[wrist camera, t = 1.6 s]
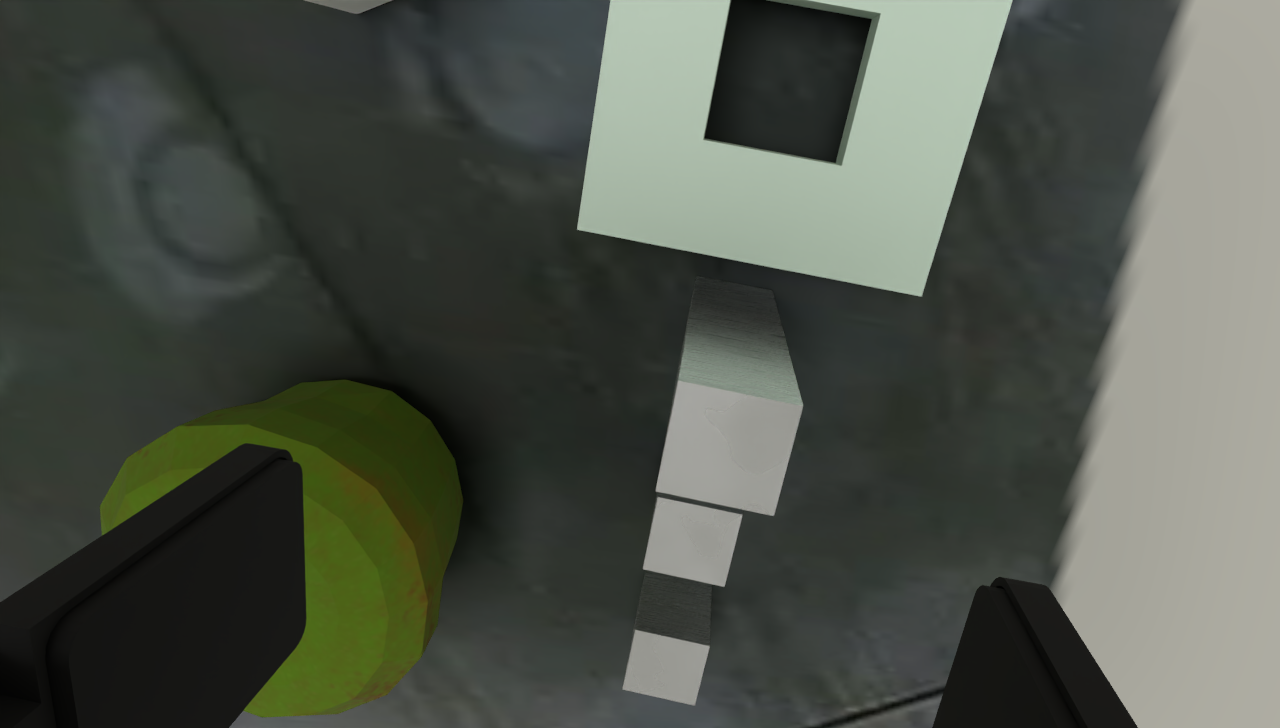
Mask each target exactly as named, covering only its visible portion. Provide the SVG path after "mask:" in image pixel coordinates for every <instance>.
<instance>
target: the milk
mask: <svg viewBox="0 0 1280 728" xmlns="http://www.w3.org/2000/svg"><path fill="white" fill-rule="evenodd" d="M305 1H309V2H312V3H316V4H320V5H324V6H328V7H331V8H335V9H339V10H343V11H346V12H350V13H354V14H359V13H362V12H365V11H367V10H370V9H372V8H375V7H377V6H380V5H382V4H385V3H387V2H390V1H392V0H305Z"/></svg>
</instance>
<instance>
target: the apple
mask: <svg viewBox="0 0 1280 728" xmlns="http://www.w3.org/2000/svg"><path fill="white" fill-rule="evenodd" d="M245 443H250V444H256V445H262V446H268V447H273V448H279V449H284V450H287V451H288V452H290V454H291V456H292V458H293V462H297V463H299V464H300V466H301V468H302V473H303V507H304V545H305V582H306V626H305V631H304V634H303V636H302V639H301V641H300V642H299V644H298V646H297V647H296V648H295V650H294V651H293V652H292V653H291V654H290V656H289V657H288V658H287V659H286V660H285V661H284V663H283V664H282V665H281V666H280V667H279V669H278V670H277V671H276V672H275V673H274V675H273V676H272V677H271V678H270V679H269V680H268V682H267V683H266V684H265V685H264V686H263V688H262V689H261V690H260V691H259V692H258V694H257V695H256V696H255V697H254V698H253V699H252V701H251V702H250V703H249V704H248V705H247V707H246V708H245V709H244V710H243V711H246V712H249V713H251V714H254V715H257V716H260V717H281V716H303V715H326V714H339V713H341V712H344V711H346V710H349V709H352V708H354V707H357V706H359V705H362V704H364V703H367V702H369V701H372V700H375V699H377V698H380V697H382V696H385V695H387V694H388V693H389V692H390V691H391V690H392V689H393V687H394V686H395V685H396V684H397V683H398V682H399V681H400V680H401V679H402V678H403V676H404V675H405V674H406V673H407V672H408V671H409V670H410V669H411V668H412V667H413V666H414V664H415V663H416V662H417V661H418V660H419V659H420V658H421V657H422V655H423V653H424V651H425V649H426V647H427V645H428V643H429V641H430V639H431V637H432V635H433V633H434V631H435V629H436V627H437V624H438V616H439V608H440V599H441V591H442V582H443V576H444V573H445V571H446V568H447V565H448V562H449V559H450V557H451V554H452V551H453V548H454V546H455V543H456V540H457V536H458V530H459V524H460V518H461V511H462V505H463V497H462V492H461V487H460V482H459V478H458V473H457V468H456V463H455V459H454V458H453V456H452V454H451V453H450V451H449V449H448V448H447V446H446V445H445V443H444V441H443V440H442V438H441V437H440V435H439V433H438V432H437V430H436V429H435V427H434V425H433V424H432V422H431V421H430V420H429V419H428V418H427V417H425V416H424V415H423V414H421V413H420V412H419V411H417V410H416V409H415V408H413V407H412V406H411V405H409V404H408V403H407V402H405V401H404V400H403V399H401V398H400V397H399V396H397V395H396V394H395V393H393V392H392V391H389V390H385V389H381V388H377V387H373V386H369V385H365V384H361V383H357V382H353V381H349V380H332V381H318V382H304V383H300V384H298V385H296V386H293V387H291V388H289V389H287V390H285V391H283V392H281V393H279V394H277V395H275V396H273V397H271V398H269V399H267V400H265V401H261V402H256V403H251V404H246V405H241V406H236V407H231V408H226V409H221V410H216V411H213V412H211V413H208V414H206V415H204V416H201V417H199V418H196V419H194V420H192V421H189V422H187V423H184V424H182V425H180V426H177V427H176V428H174V429H173V430H171V431H169V432H168V433H166V434H165V435H163V436H161V437H160V438H158V439H157V440H155V441H153V442H152V443H150V444H148V445H147V446H145V447H144V448H142V449H140V450H139V451H137V452H136V453H134V454H132V455H131V456H129V457H127V459H126V461H125V462H124V464H123V466H122V468H121V470H120V471H119V473H118V475H117V477H116V479H115V480H114V482H113V484H112V486H111V487H110V489H109V491H108V493H107V495H106V496H105V498H104V500H103V502H102V504H101V505H100V515H101V528H102V535H104V534H106V533H107V532H109V531H110V530H112V529H113V528H115V527H116V526H118V525H119V524H121V523H122V522H124V521H125V520H127V519H128V518H130V517H131V516H133V515H135V514H136V513H138V512H139V511H141V510H142V509H144V508H145V507H147V506H148V505H150V504H151V503H153V502H154V501H156V500H157V499H159V498H160V497H162V496H164V495H165V494H167V493H168V492H170V491H171V490H173V489H174V488H176V487H177V486H179V485H180V484H182V483H183V482H185V481H186V480H188V479H189V478H191V477H193V476H194V475H196V474H197V473H199V472H200V471H202V470H203V469H205V468H206V467H208V466H209V465H211V464H212V463H214V462H215V461H217V460H218V459H220V458H222V457H223V456H225V455H226V454H228V453H229V452H231V451H232V450H234V449H235V448H237V447H238V446H240V445H242V444H245Z"/></svg>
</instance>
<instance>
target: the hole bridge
mask: <svg viewBox="0 0 1280 728" xmlns="http://www.w3.org/2000/svg"><path fill="white" fill-rule="evenodd" d="M768 1H774V2H779V3H785V4H791V5H796V6H802V7H807V8H813V9H819V10H824V11H830V12H835V13H841V14H847V15H852V16H858V17H864V18H869V19H872V21H871V25H870V29H869V33H868V37H867V41H866V45H865V49H864V53H863V57H862V60H861V64H860V68H859V72H858V76H857V80H856V84H855V88H854V92H853V96H852V100H851V104H850V108H849V112H848V116H847V120H846V124H845V128H844V132H843V135H842V139H841V143H840V147H839V151H838V155H837V159H836V163H833V162H828V161H822V160H817V159H812V158H806V157H801V156H796V155H790V154H785V153H780V152H774V151H769V150H764V149H758V148H753V147H748V146H742V145H737V144H732V143H726V142H721V141H716V140H710V139H705V138H704V137H705V132H706V127H707V122H708V117H709V112H710V107H711V102H712V96H713V91H714V86H715V81H716V76H717V71H718V66H719V61H720V55H721V50H722V45H723V40H724V35H725V30H726V25H727V20H728V14H729V9H730V4H731V0H611V1H610V8H609V15H608V22H607V29H606V35H605V42H604V49H603V56H602V63H601V70H600V76H599V83H598V90H597V97H596V104H595V110H594V117H593V124H592V131H591V138H590V144H589V151H588V158H587V165H586V172H585V178H584V185H583V192H582V199H581V206H580V212H579V219H578V226H577V230H582V231H587V232H592V233H597V234H602V235H607V236H612V237H618V238H623V239H628V240H633V241H638V242H643V243H648V244H654V245H659V246H664V247H669V248H674V249H679V250H684V251H690V252H695V253H700V254H705V255H710V256H715V257H720V258H726V259H731V260H736V261H741V262H746V263H751V264H756V265H762V266H767V267H772V268H777V269H782V270H787V271H792V272H798V273H803V274H808V275H813V276H818V277H823V278H828V279H834V280H839V281H844V282H849V283H854V284H859V285H864V286H870V287H875V288H880V289H885V290H890V291H895V292H900V293H906V294H911V295H916V296H921V297H922V293H923V290H924V287H925V284H926V280H927V277H928V274H929V270H930V267H931V264H932V261H933V257H934V254H935V251H936V248H937V244H938V241H939V238H940V235H941V231H942V228H943V225H944V222H945V218H946V215H947V212H948V209H949V205H950V202H951V199H952V196H953V192H954V189H955V186H956V183H957V179H958V176H959V173H960V170H961V166H962V163H963V160H964V157H965V153H966V150H967V147H968V144H969V140H970V137H971V134H972V131H973V127H974V124H975V121H976V118H977V114H978V111H979V108H980V105H981V101H982V98H983V95H984V92H985V88H986V85H987V82H988V79H989V75H990V72H991V69H992V66H993V62H994V59H995V56H996V53H997V49H998V46H999V43H1000V40H1001V36H1002V33H1003V30H1004V27H1005V23H1006V20H1007V17H1008V14H1009V10H1010V7H1011V4H1012V1H1013V0H768Z"/></svg>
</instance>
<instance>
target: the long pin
mask: <svg viewBox="0 0 1280 728" xmlns="http://www.w3.org/2000/svg"><path fill="white" fill-rule="evenodd" d="M802 409H803V403H802V399H801V396H800V392H799V388H798V384H797V381H796V377H795V373H794V369H793V365H792V362H791V358H790V354H789V350H788V347H787V343H786V339H785V335H784V332H783V328H782V324H781V320H780V316H779V313H778V309H777V305H776V301H775V298H774V294H773V291H772V290H767V289H762V288H757V287H752V286H747V285H742V284H737V283H731V282H726V281H721V280H716V279H711V278H706V277H701V276H696V280H695V285H694V290H693V295H692V300H691V305H690V310H689V315H688V320H687V325H686V330H685V334H684V339H683V344H682V349H681V355H680V360H679V366H678V371H677V377H676V382H675V387H674V393H673V398H672V404H671V409H670V415H669V420H668V426H667V431H666V436H665V442H664V447H663V453H662V458H661V464H660V469H659V475H658V480H657V485H656V492H661V493H666V494H671V495H675V496H680V497H685V498H690V499H695V500H699V501H704V502H709V503H714V504H719V505H723V506H728V507H733V508H738V509H742V510H747V511H752V512H757V513H762V514H766V515H771V516H774V514H775V510H776V506H777V503H778V499H779V495H780V491H781V488H782V484H783V480H784V476H785V473H786V469H787V465H788V461H789V458H790V454H791V450H792V446H793V443H794V439H795V435H796V431H797V428H798V424H799V420H800V416H801V413H802Z"/></svg>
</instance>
